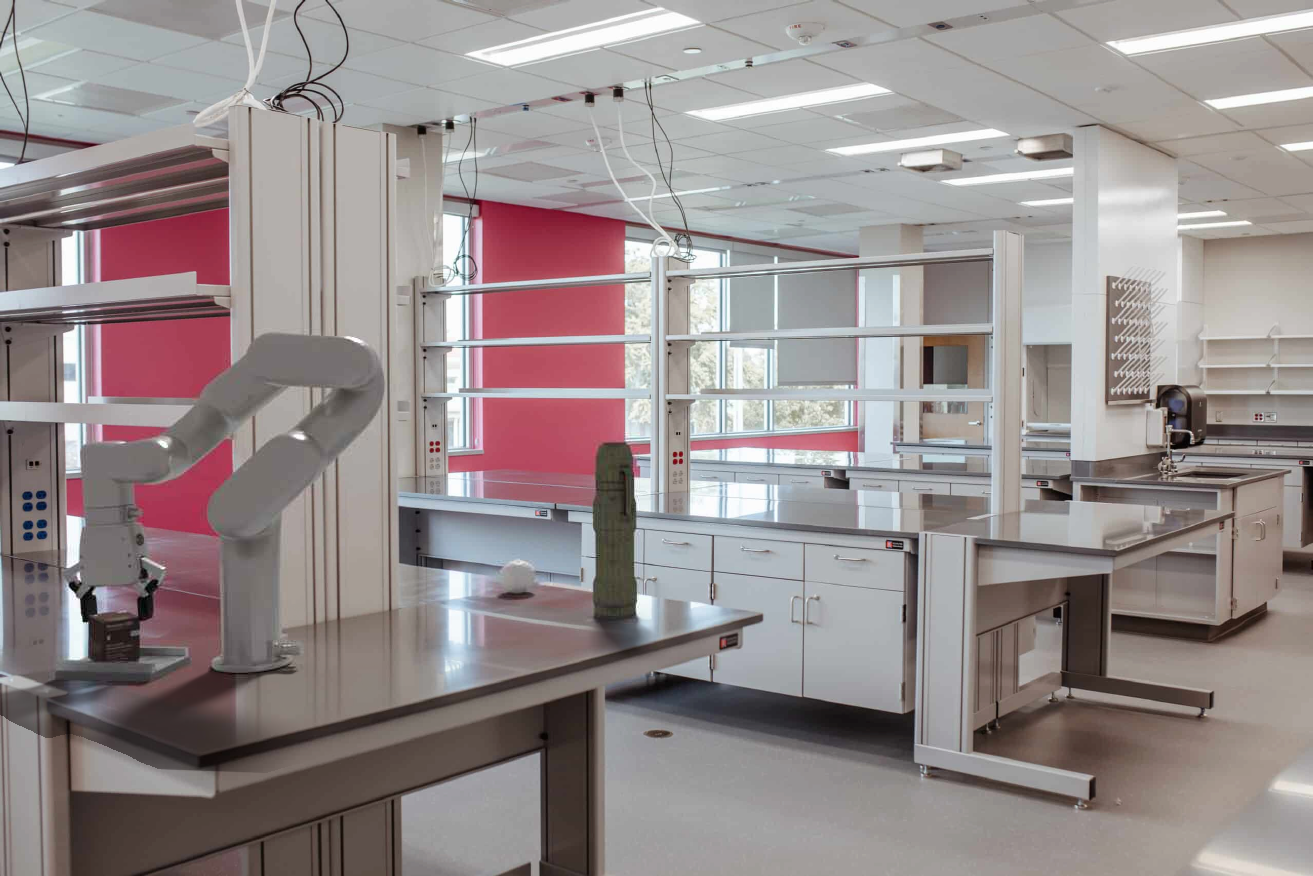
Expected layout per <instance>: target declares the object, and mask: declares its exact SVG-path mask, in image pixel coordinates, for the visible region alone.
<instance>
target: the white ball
mask: <svg viewBox="0 0 1313 876" xmlns="http://www.w3.org/2000/svg"><path fill="white" fill-rule="evenodd" d="M535 578H536V571H535V568H534V566H533V565H532V564H531V563H530V562H527V561H524V560H521V559H514V560H512V561H510V562H507V563H506V565H504V566H503V567H502V568H501V569H500V570H499V582H500V584H501V586H502V587H503V588H504V590H506V591H508V592H509V593H510V594H511V593H512V594H516V595H517V594H522V593H523V594H524V593H525V592H527V591H529V590H530V589H531V588H532V587H533V585H534V581H535Z"/></svg>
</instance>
